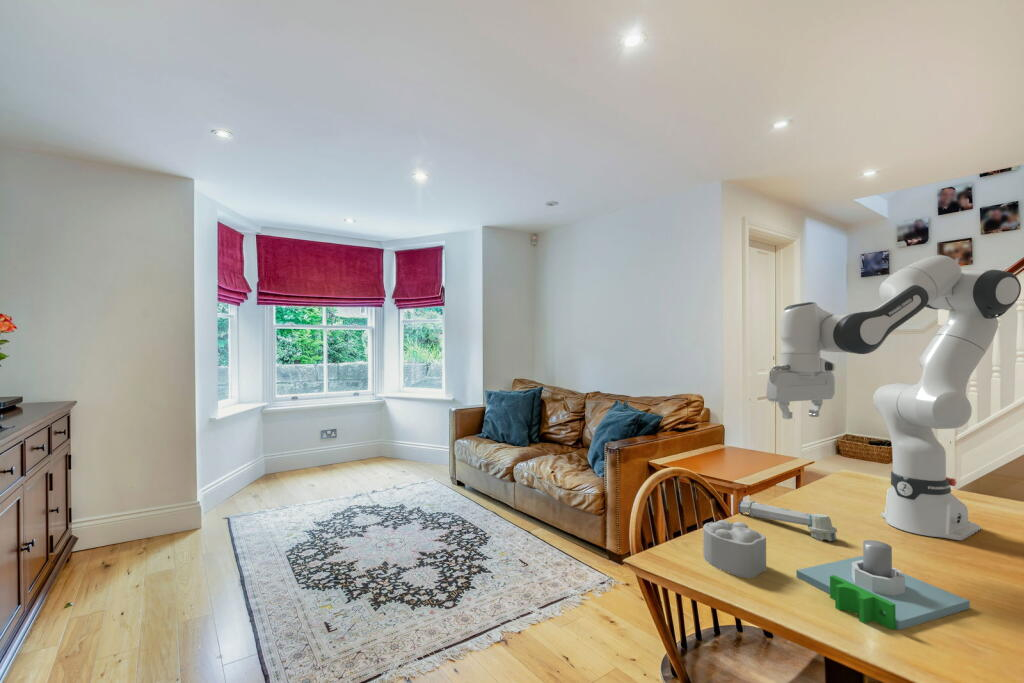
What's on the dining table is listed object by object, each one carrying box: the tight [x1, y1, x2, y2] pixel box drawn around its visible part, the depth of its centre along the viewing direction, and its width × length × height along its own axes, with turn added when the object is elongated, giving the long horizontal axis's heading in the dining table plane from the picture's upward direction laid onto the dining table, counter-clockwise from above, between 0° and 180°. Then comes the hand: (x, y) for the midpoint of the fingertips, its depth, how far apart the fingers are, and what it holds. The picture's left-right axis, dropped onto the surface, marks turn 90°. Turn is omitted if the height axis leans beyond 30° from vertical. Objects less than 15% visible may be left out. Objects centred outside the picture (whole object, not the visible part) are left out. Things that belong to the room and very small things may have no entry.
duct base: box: [796, 555, 971, 631], centre depth 95 cm, size 20×20×4 cm
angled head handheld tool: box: [737, 500, 838, 542], centre depth 130 cm, size 5×7×25 cm
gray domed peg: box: [862, 539, 893, 578], centre depth 95 cm, size 5×5×8 cm
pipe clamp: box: [829, 575, 897, 631], centre depth 88 cm, size 11×4×5 cm, turn 19°
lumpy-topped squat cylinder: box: [702, 519, 767, 579], centre depth 108 cm, size 10×13×9 cm
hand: (800, 417), depth 122 cm, fingers open, 8 cm apart
